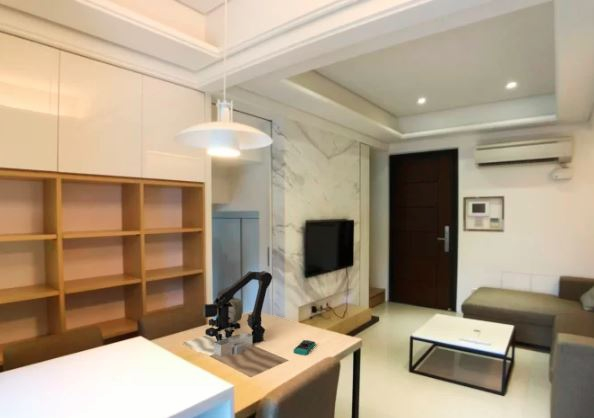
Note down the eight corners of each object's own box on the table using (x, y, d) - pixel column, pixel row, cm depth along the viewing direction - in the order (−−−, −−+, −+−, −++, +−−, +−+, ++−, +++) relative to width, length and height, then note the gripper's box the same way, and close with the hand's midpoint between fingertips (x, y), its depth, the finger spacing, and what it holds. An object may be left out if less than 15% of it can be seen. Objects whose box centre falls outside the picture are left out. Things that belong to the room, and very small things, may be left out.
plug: (220, 342, 191) (221, 335, 191) (242, 352, 178) (243, 345, 178) (214, 344, 188) (214, 337, 188) (236, 355, 175) (236, 347, 175)
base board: (219, 333, 208) (219, 331, 208) (288, 362, 170) (288, 360, 170) (183, 344, 191) (183, 342, 191) (250, 379, 152) (250, 377, 152)
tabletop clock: (216, 327, 218) (216, 287, 218) (224, 323, 227) (224, 284, 227) (235, 330, 213) (236, 289, 213) (243, 326, 221) (244, 286, 221)
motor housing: (245, 344, 189) (245, 332, 189) (252, 347, 185) (252, 334, 185) (213, 355, 174) (213, 342, 174) (220, 358, 170) (220, 345, 170)
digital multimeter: (315, 346, 191) (316, 340, 191) (306, 356, 178) (306, 350, 178) (303, 344, 194) (303, 338, 194) (293, 354, 180) (293, 348, 180)
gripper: (228, 308, 198) (228, 336, 198) (199, 315, 184) (199, 345, 184) (240, 312, 191) (240, 341, 191) (211, 320, 177) (211, 351, 177)
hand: (223, 344), depth 186 cm, fingers closed on plug, 4 cm apart
